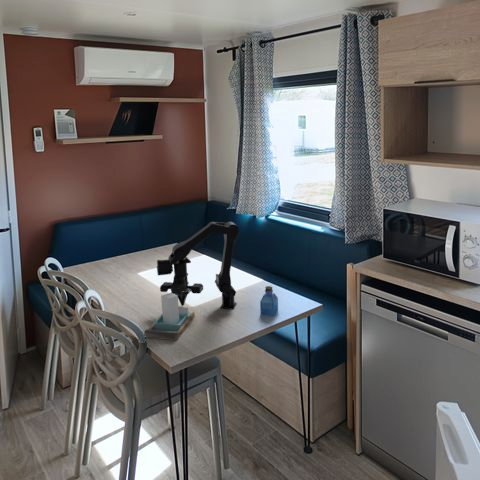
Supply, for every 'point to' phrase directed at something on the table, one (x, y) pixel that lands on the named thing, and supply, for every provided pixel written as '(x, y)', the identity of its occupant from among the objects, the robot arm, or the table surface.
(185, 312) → the tray
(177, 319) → the light grey block
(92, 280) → the table surface
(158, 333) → the dock
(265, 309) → the perfume bottle
